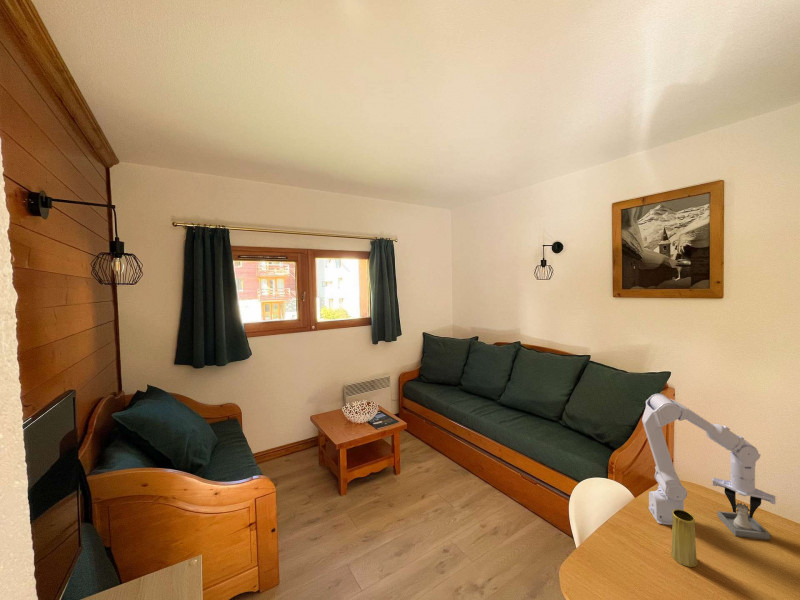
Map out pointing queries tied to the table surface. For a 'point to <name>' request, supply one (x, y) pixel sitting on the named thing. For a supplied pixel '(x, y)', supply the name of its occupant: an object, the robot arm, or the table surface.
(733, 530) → the tray
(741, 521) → the rook chess piece
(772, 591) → the table surface
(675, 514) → the vase
